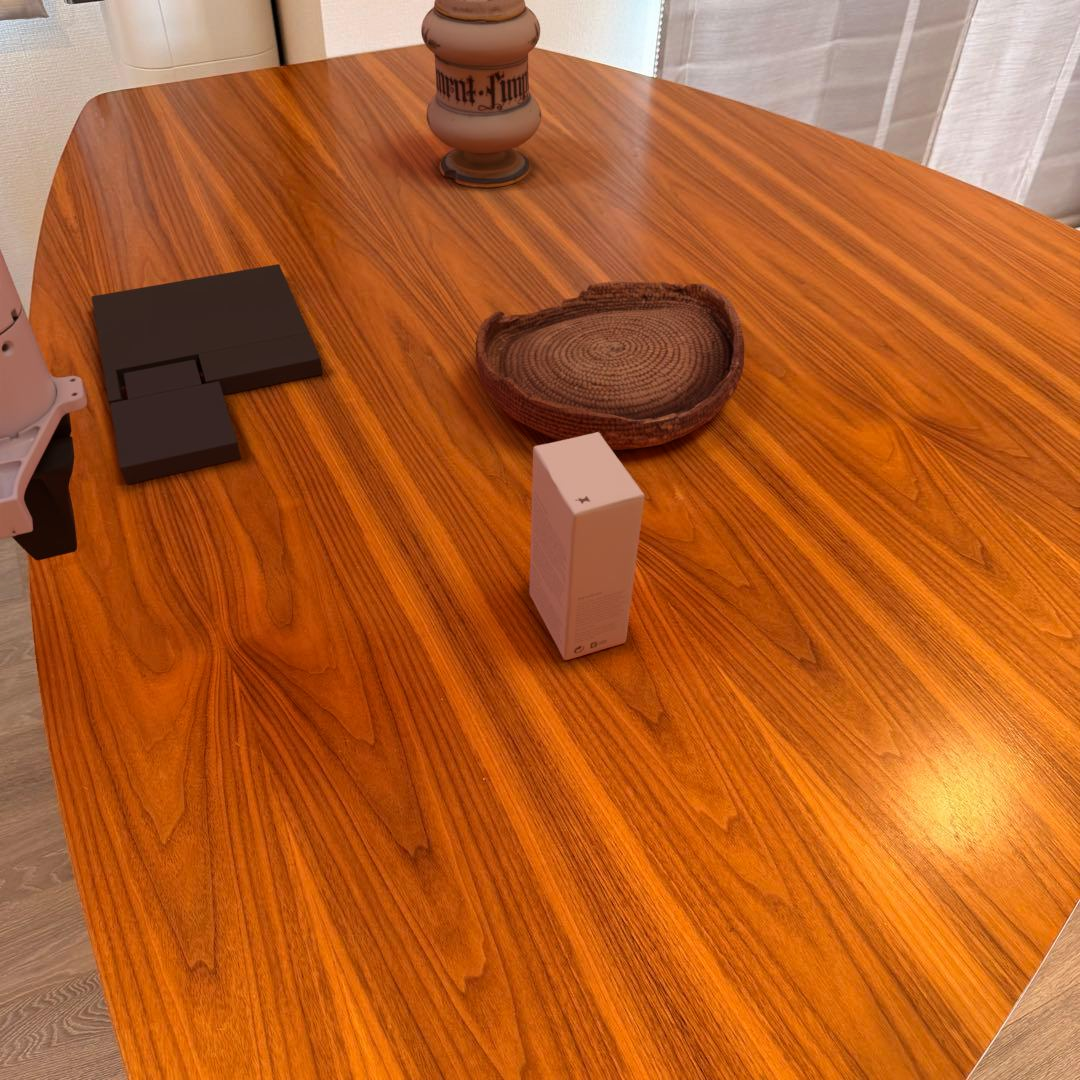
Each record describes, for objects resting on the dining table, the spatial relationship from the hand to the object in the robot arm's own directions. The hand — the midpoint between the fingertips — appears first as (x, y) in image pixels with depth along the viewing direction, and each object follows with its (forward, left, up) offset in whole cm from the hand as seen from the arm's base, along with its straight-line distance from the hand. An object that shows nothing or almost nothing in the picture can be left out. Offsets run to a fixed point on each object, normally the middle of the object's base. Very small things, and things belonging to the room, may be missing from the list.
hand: (55, 547), depth 50 cm
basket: (+40, +15, -10) cm, 44 cm away
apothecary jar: (+44, +56, -10) cm, 72 cm away
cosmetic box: (+27, -7, -10) cm, 29 cm away
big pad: (+10, +32, -9) cm, 35 cm away
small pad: (+7, +21, -9) cm, 24 cm away
